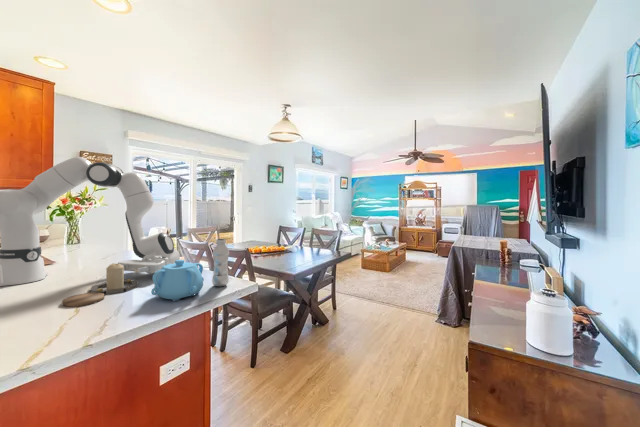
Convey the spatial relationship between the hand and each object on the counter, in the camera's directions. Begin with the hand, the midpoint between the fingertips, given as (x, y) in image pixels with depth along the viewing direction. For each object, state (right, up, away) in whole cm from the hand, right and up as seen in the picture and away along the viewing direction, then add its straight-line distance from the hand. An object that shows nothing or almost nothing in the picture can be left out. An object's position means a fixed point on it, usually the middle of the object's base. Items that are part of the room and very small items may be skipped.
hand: (126, 270), depth 113 cm
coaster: (-1, -7, -19) cm, 21 cm away
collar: (-1, -6, -5) cm, 8 cm away
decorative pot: (+29, -7, -12) cm, 32 cm away
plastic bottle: (+40, -7, +1) cm, 40 cm away
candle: (-1, -6, -5) cm, 8 cm away
